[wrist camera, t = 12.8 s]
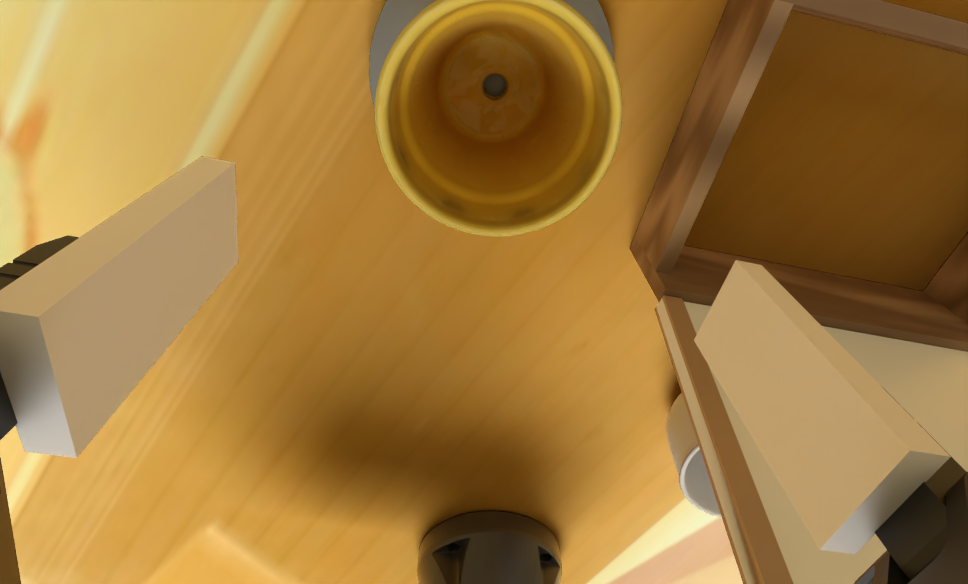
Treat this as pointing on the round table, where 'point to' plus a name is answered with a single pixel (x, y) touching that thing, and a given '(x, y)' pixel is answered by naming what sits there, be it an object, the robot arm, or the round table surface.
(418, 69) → the plant pot
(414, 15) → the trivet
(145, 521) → the round table surface
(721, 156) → the cold frame
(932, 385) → the lid
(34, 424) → the robot arm
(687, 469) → the teacup
